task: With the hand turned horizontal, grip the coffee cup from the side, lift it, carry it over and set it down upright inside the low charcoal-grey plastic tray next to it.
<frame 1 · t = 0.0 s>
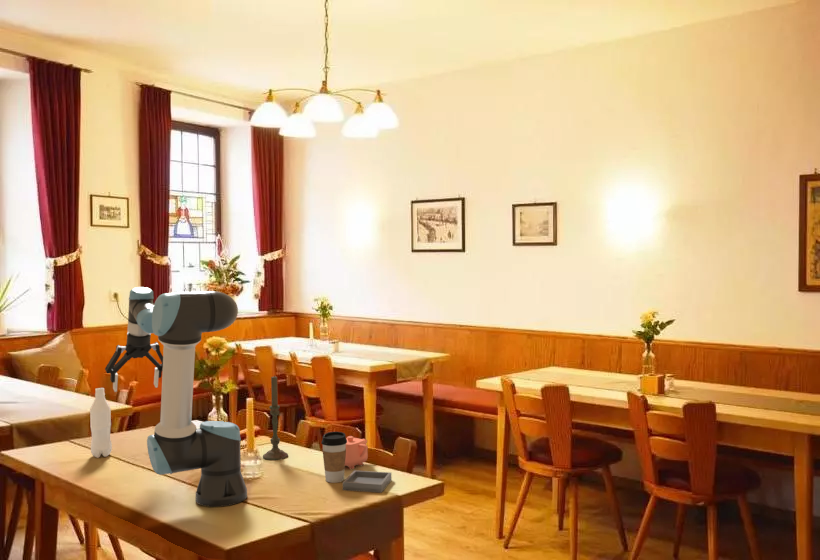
hand: (135, 388, 255), 28 cm above the table, tool tilted 20°, fingers open, 13 cm apart
candlestick holder: (275, 457, 268), on the table
coffee cup: (334, 480, 240), on the table
water bottle: (101, 456, 271), on the table
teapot: (350, 466, 256), on the table
tray: (367, 485, 234), on the table
wooden carving: (216, 447, 283), on the table
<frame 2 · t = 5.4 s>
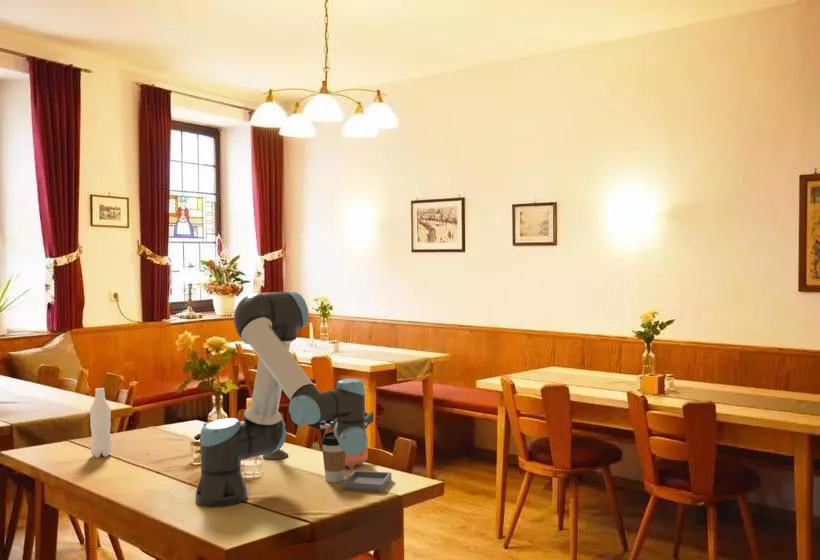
hand: (337, 413, 230), 24 cm above the table, tool horizontal, fingers open, 13 cm apart
nothing on the table moved.
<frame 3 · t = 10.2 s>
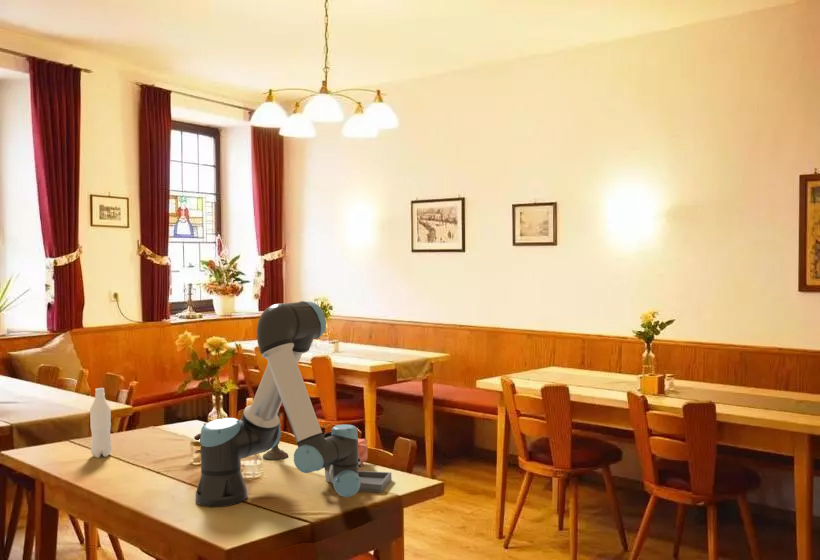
hand: (332, 450, 244), 9 cm above the table, tool horizontal, fingers closed on coffee cup, 8 cm apart
coffee cup: (334, 480, 240), on the table, touching gripper
everything else where it was.
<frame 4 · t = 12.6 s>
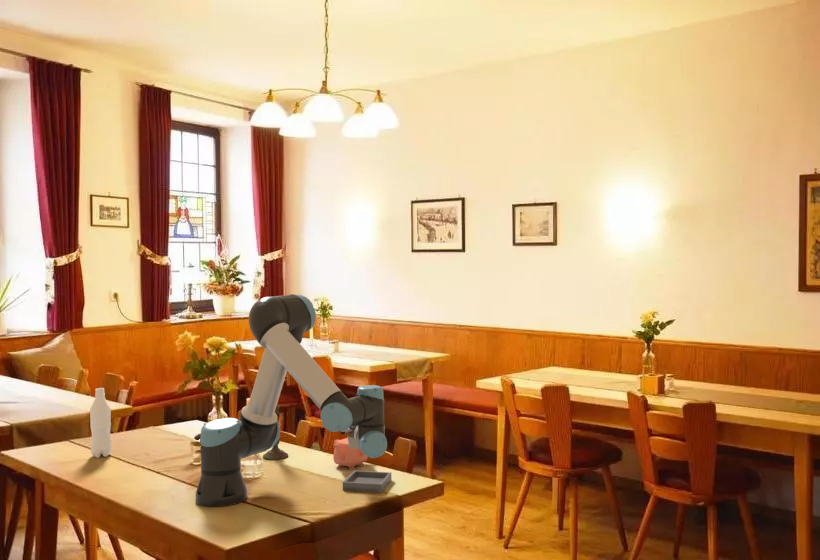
hand: (355, 417, 240), 21 cm above the table, tool horizontal, fingers closed on coffee cup, 8 cm apart
coffee cup: (357, 447, 235), point 12 cm above the table, touching gripper
everything else where it was.
when the fingers open (11 cm above the table, at t = 15.5 s): coffee cup drops 1 cm, resting on tray.
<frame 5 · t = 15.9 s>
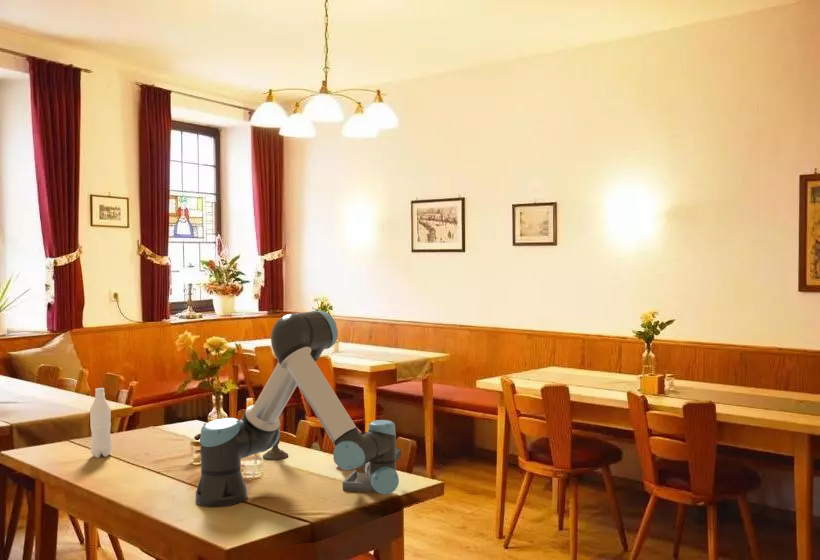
hand: (365, 448, 237), 11 cm above the table, tool horizontal, fingers open, 13 cm apart
coffee cup: (366, 482, 234), point 1 cm above the table, touching tray
everything else where it was.
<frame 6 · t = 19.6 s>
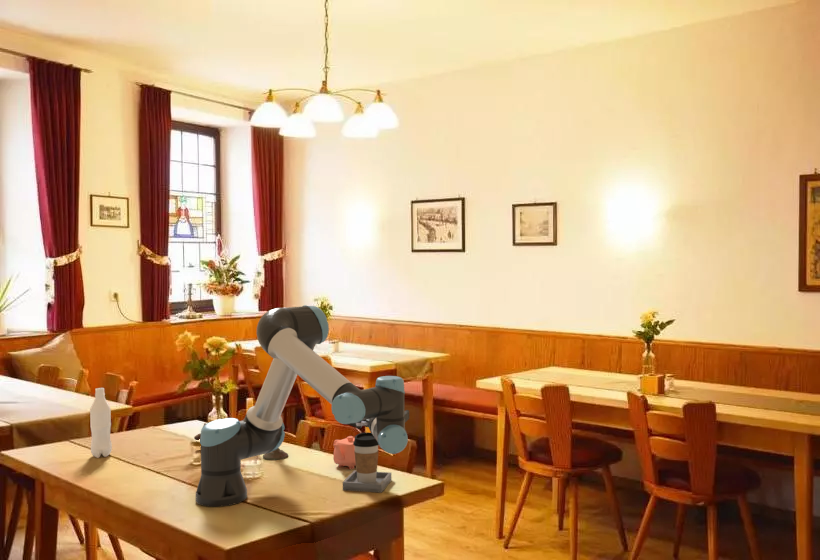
hand: (371, 410, 225), 26 cm above the table, tool horizontal, fingers open, 13 cm apart
nothing on the table moved.
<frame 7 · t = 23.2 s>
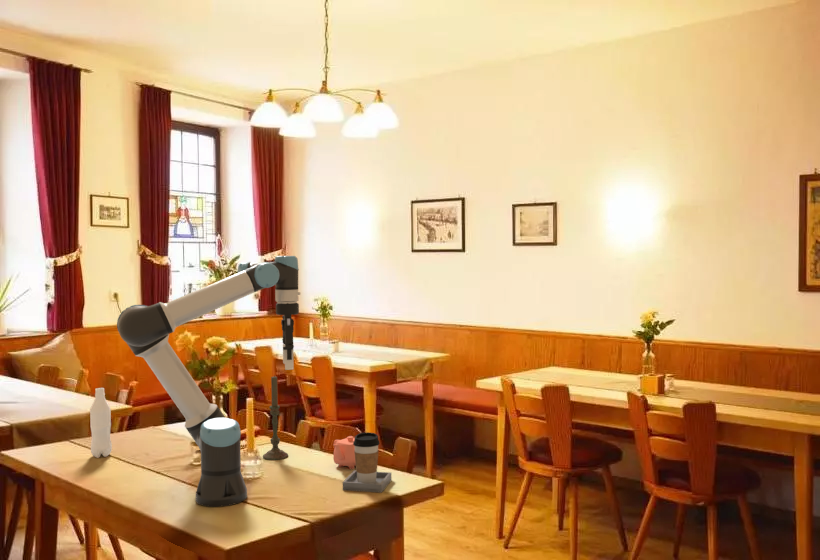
hand: (288, 366, 243), 37 cm above the table, tool pointing down, fingers open, 13 cm apart
nothing on the table moved.
at the end: coffee cup 0.3 cm off-centre on the tray, point 0.8 cm above the tray's base; coffee cup tilted 0°; the gripper is holding nothing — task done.
